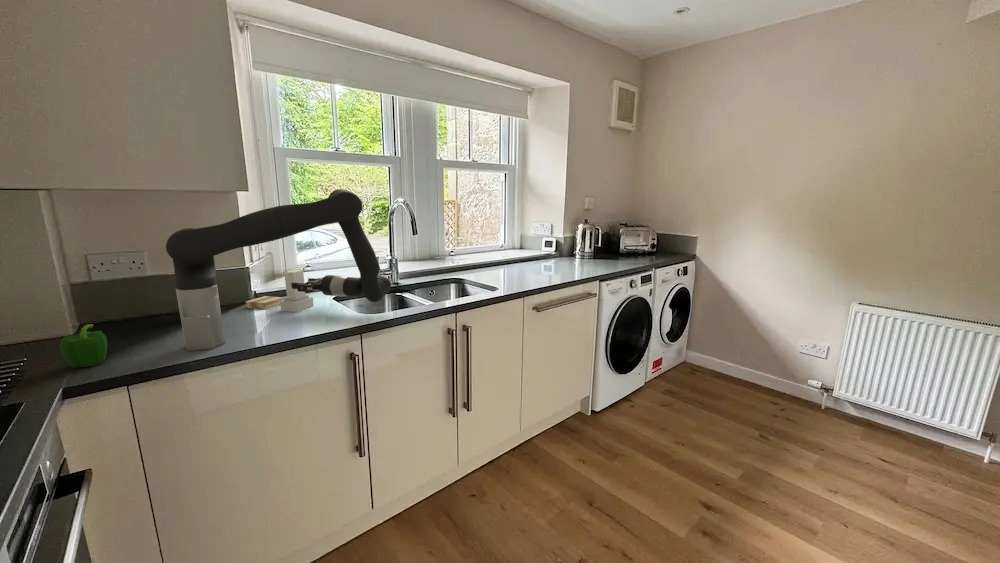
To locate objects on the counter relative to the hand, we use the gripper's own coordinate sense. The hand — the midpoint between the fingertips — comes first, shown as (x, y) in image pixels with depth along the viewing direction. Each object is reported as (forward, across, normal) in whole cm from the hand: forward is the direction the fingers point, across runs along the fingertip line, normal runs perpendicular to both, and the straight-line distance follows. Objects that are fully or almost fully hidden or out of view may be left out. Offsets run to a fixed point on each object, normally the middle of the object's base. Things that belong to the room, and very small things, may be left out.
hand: (300, 283), depth 148 cm
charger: (+3, 0, +6) cm, 7 cm away
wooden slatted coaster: (+18, 0, +10) cm, 20 cm away
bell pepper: (+15, +57, +10) cm, 60 cm away
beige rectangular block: (+3, 0, +10) cm, 10 cm away
